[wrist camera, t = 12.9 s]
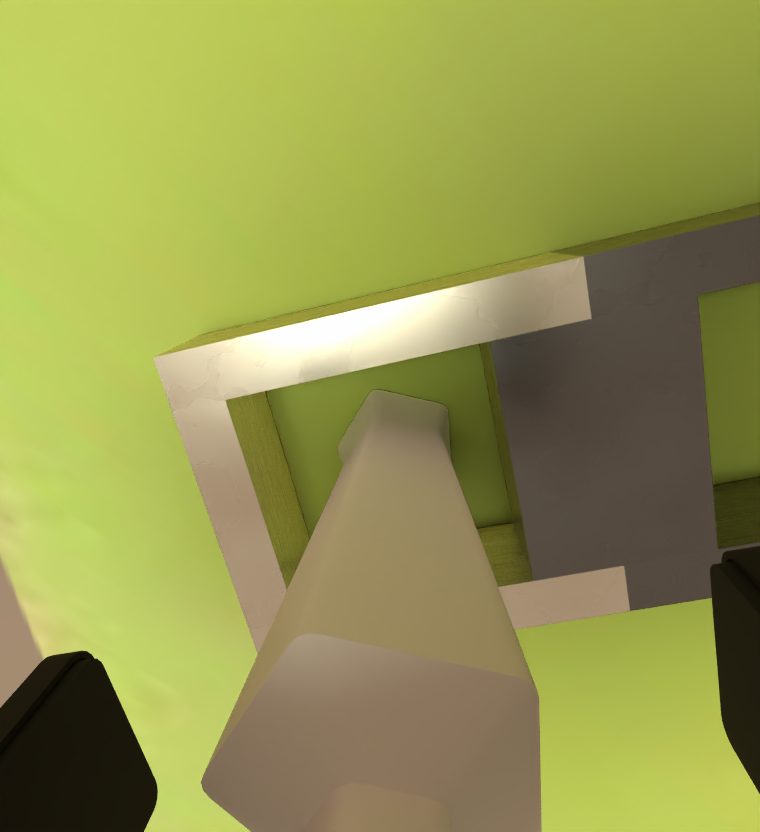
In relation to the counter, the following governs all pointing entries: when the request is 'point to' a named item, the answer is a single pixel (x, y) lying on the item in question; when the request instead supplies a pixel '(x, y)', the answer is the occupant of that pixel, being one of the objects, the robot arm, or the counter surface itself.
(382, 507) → the perfume bottle
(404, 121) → the counter surface
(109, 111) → the counter surface
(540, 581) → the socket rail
